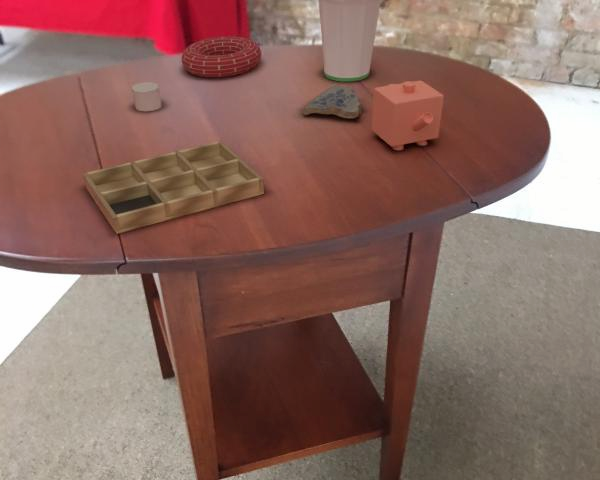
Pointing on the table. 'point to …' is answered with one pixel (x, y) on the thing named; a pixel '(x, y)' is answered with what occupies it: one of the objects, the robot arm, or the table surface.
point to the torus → (221, 56)
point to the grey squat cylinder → (146, 96)
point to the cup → (348, 37)
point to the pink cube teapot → (406, 113)
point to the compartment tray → (171, 185)
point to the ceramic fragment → (336, 103)
